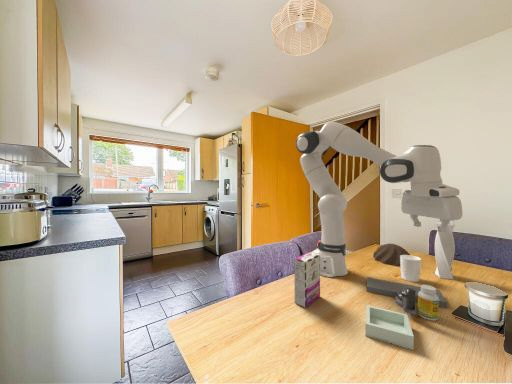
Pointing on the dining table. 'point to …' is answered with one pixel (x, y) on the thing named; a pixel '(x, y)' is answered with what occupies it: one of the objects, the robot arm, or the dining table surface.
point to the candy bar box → (307, 278)
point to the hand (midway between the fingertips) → (429, 228)
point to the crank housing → (397, 290)
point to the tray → (389, 326)
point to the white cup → (410, 267)
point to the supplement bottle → (428, 303)
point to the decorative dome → (389, 254)
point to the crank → (408, 300)
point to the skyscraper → (444, 252)
